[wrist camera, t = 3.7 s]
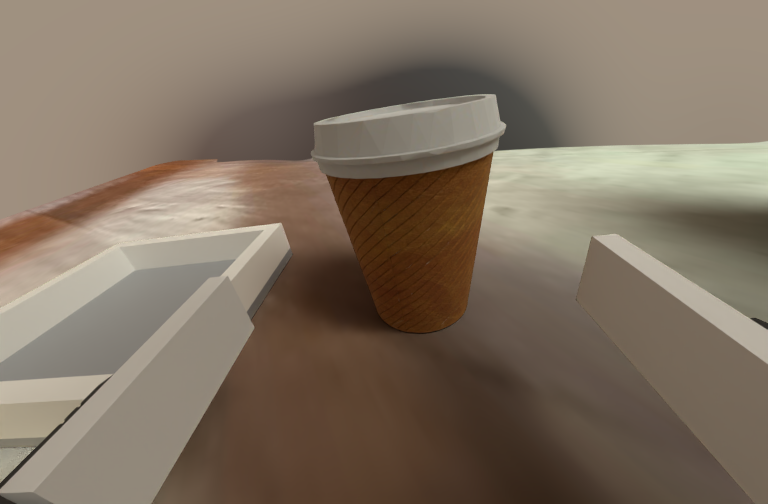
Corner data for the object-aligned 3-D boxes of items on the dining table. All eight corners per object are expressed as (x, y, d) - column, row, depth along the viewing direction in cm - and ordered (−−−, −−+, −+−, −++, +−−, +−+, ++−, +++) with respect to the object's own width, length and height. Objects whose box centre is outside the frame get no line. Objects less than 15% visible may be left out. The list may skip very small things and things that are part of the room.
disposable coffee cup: (351, 368, 15) (280, 136, 9) (354, 272, 24) (318, 118, 18) (522, 341, 15) (559, 90, 9) (465, 254, 24) (466, 93, 18)
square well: (292, 254, 28) (281, 223, 26) (173, 441, 13) (130, 396, 11) (138, 271, 30) (118, 242, 28) (-121, 452, 15) (-196, 415, 13)
